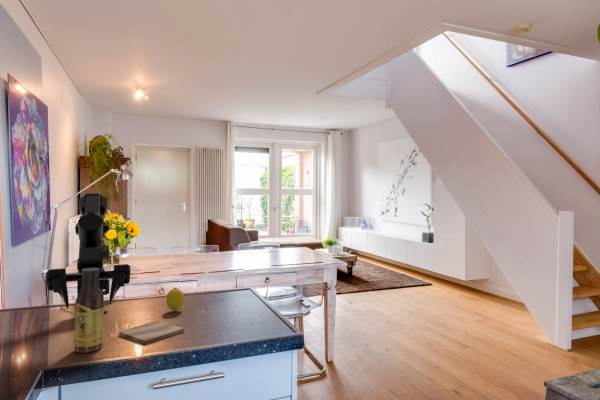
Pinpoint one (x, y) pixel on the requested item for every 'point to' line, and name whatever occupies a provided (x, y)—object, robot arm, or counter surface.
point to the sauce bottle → (89, 313)
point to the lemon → (175, 299)
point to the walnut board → (151, 332)
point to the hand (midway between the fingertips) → (89, 305)
